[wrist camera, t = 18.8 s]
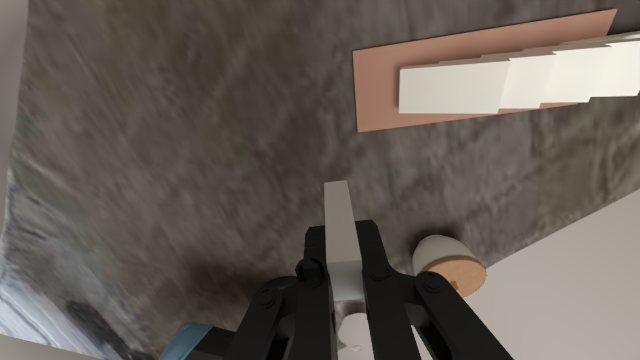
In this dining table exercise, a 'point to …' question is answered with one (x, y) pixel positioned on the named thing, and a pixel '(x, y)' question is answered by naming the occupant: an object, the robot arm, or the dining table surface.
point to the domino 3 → (571, 71)
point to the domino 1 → (453, 87)
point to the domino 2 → (524, 78)
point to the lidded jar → (450, 263)
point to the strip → (386, 61)
